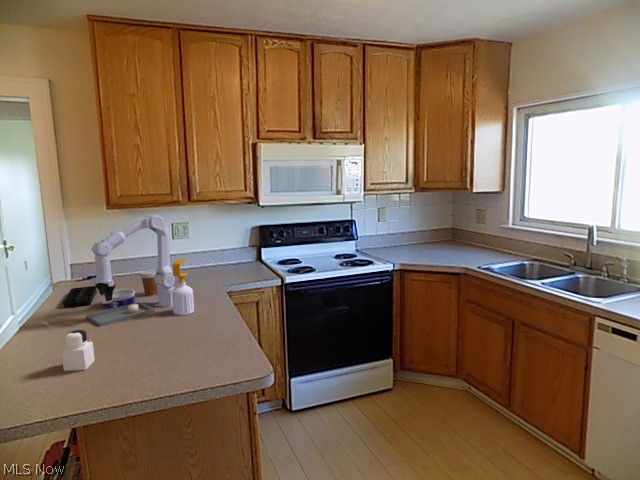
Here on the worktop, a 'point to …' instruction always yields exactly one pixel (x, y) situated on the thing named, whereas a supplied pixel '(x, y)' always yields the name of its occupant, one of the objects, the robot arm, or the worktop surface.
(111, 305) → the dog bowl
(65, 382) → the worktop surface
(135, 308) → the pebble
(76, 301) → the egg carton
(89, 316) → the parts tray
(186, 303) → the soap bottle
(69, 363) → the medicine bottle
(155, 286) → the disposable coffee cup
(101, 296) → the pebble
